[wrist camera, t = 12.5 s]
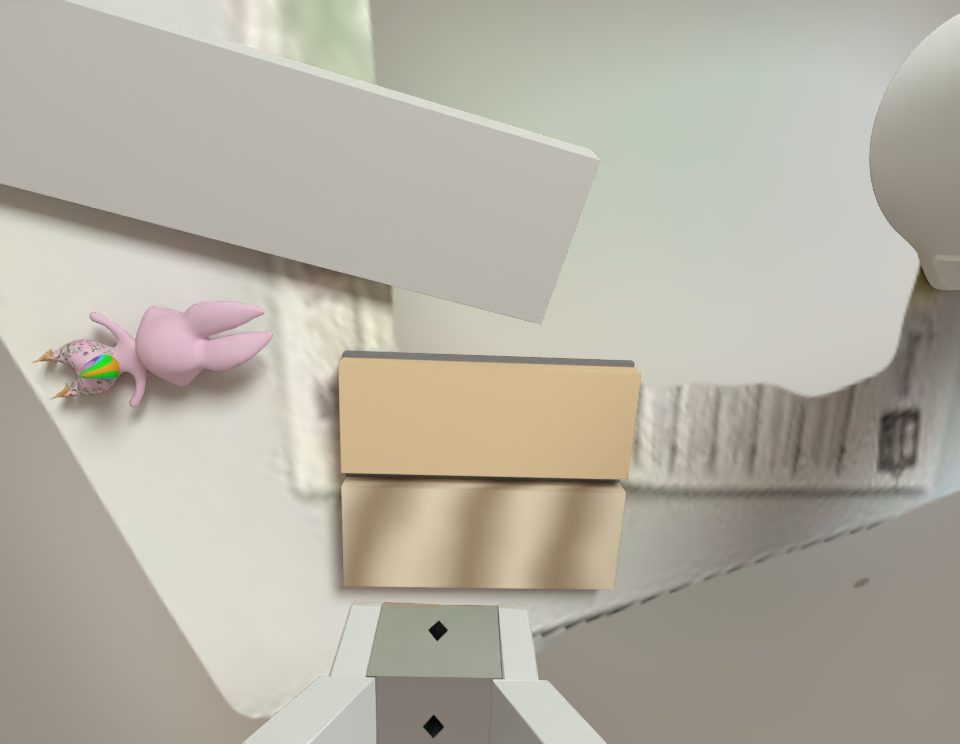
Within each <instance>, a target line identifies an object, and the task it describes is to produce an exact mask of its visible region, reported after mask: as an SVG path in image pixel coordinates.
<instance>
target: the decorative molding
mask: <svg viewBox="0 0 960 744" xmlns="http://www.w3.org/2000/svg"><path fill="white" fill-rule="evenodd" d="M599 163H600V160H599V159H598V157H597V156H596V155H595V154H594V153H593V152H592V151H591V150H590V149H587V148H584V147H580V146H577V145H574V144H570V143H567V142H564V141H560V140H557V139H554V138H550V137H547V136H544V135H540V134H537V133H533V132H530V131H527V130H524V129H520V128H517V127H513V126H510V125H507V124H504V123H501V122H497V121H494V120H490V119H487V118H484V117H480V116H477V115H474V114H471V113H467V112H464V111H460V110H457V109H454V108H450V107H447V106H444V105H440V104H437V103H433V102H431V101H427V100H424V99H421V98H417V97H414V96H411V95H407V94H404V93H401V92H397V91H394V90H390V89H387V88H384V87H381V86H377V85H374V84H371V83H367V82H364V81H361V80H357V79H354V78H351V77H347V76H344V75H341V74H337V73H334V72H331V71H327V70H324V69H321V68H317V67H314V66H311V65H307V64H304V63H301V62H297V61H294V60H291V59H287V58H284V57H281V56H277V55H274V54H271V53H267V52H264V51H261V50H257V49H254V48H251V47H247V46H244V45H241V44H237V43H234V42H231V41H227V40H224V39H221V38H217V37H214V36H211V35H207V34H204V33H201V32H197V31H194V30H191V29H187V28H184V27H181V26H177V25H174V24H171V23H167V22H164V21H161V20H157V19H154V18H151V17H147V16H144V15H141V14H137V13H134V12H131V11H127V10H124V9H121V8H117V7H114V6H111V5H107V4H104V3H101V2H97V1H94V0H0V183H1V184H4V185H8V186H12V187H16V188H20V189H24V190H27V191H31V192H35V193H39V194H43V195H47V196H50V197H54V198H58V199H62V200H66V201H70V202H73V203H77V204H81V205H85V206H89V207H93V208H96V209H100V210H104V211H108V212H112V213H115V214H119V215H123V216H127V217H131V218H135V219H138V220H142V221H146V222H150V223H154V224H158V225H161V226H165V227H169V228H173V229H177V230H181V231H184V232H188V233H192V234H196V235H200V236H204V237H207V238H211V239H215V240H219V241H223V242H227V243H230V244H234V245H238V246H242V247H246V248H250V249H253V250H257V251H261V252H265V253H269V254H273V255H276V256H280V257H284V258H288V259H292V260H296V261H299V262H303V263H307V264H311V265H315V266H319V267H322V268H326V269H330V270H334V271H338V272H342V273H345V274H349V275H353V276H357V277H361V278H365V279H368V280H372V281H376V282H380V283H384V284H388V285H391V286H395V287H400V288H403V289H407V290H411V291H414V292H418V293H422V294H426V295H430V296H434V297H437V298H441V299H445V300H449V301H453V302H457V303H461V304H464V305H468V306H472V307H476V308H480V309H483V310H487V311H491V312H495V313H499V314H502V315H506V316H511V317H514V318H518V319H522V320H525V321H530V322H533V323H537V324H541V323H542V320H543V318H544V315H545V312H546V309H547V306H548V304H549V301H550V298H551V296H552V293H553V290H554V287H555V285H556V282H557V279H558V276H559V273H560V271H561V268H562V265H563V262H564V260H565V257H566V254H567V252H568V249H569V246H570V243H571V240H572V238H573V235H574V232H575V229H576V227H577V224H578V221H579V218H580V215H581V212H582V210H583V207H584V205H585V202H586V199H587V196H588V194H589V191H590V188H591V185H592V182H593V180H594V177H595V174H596V171H597V169H598V166H599Z"/></svg>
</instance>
